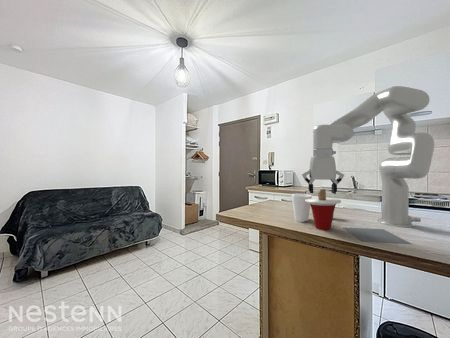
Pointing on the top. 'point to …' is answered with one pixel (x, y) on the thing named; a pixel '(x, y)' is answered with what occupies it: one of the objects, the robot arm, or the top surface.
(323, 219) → the plastic cup
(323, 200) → the lid
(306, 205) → the foam cup
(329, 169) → the robot arm
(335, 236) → the top surface
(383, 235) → the mat
